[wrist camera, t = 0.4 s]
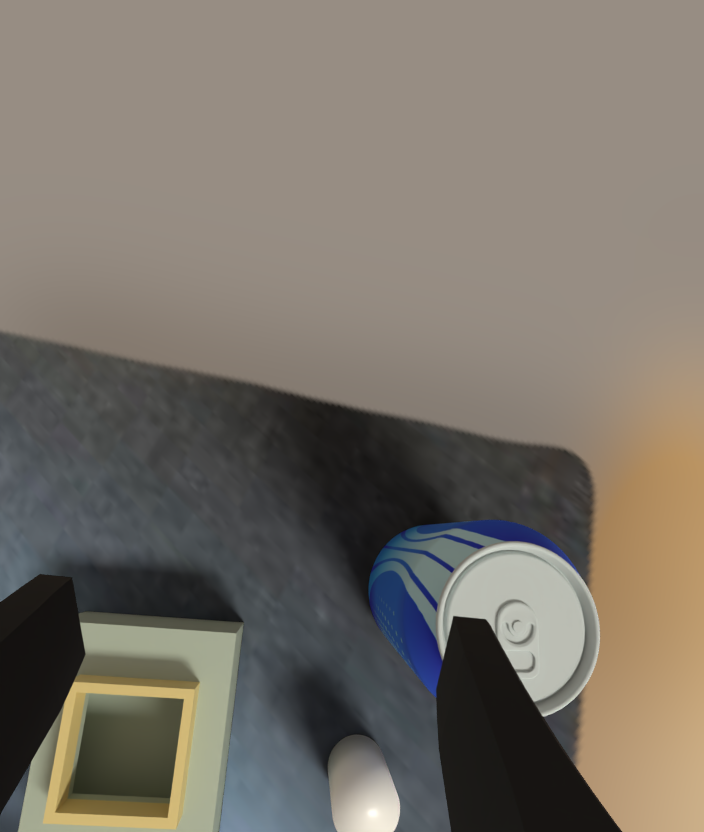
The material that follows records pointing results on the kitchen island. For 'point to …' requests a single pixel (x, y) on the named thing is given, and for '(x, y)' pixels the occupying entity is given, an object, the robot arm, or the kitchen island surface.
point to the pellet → (361, 787)
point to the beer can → (488, 603)
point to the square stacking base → (140, 729)
